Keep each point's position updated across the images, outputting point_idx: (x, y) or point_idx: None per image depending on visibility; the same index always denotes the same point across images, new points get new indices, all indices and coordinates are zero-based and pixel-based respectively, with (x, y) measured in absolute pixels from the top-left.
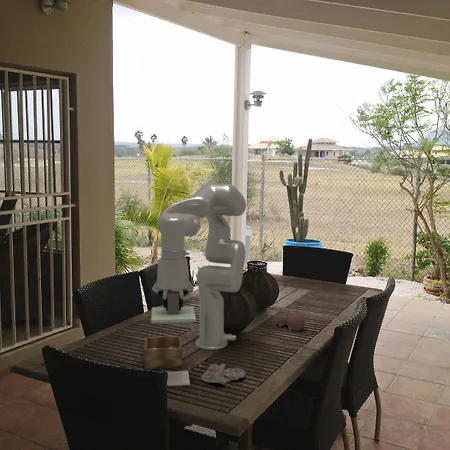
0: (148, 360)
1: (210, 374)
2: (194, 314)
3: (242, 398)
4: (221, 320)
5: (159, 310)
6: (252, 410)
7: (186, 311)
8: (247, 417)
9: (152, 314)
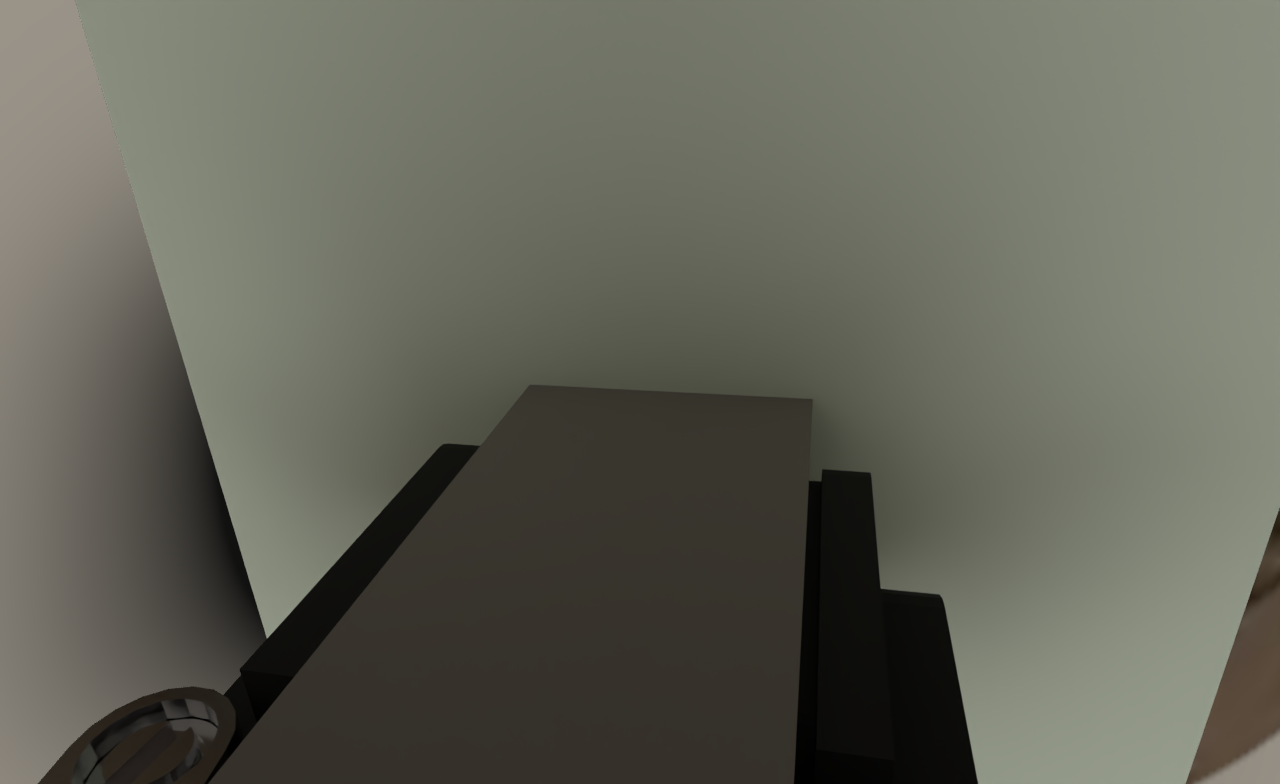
0: None
1: None
2: (1194, 710)
3: (1270, 578)
4: None
5: (320, 270)
6: (1264, 724)
7: (1036, 450)
8: (1190, 779)
9: (249, 534)
